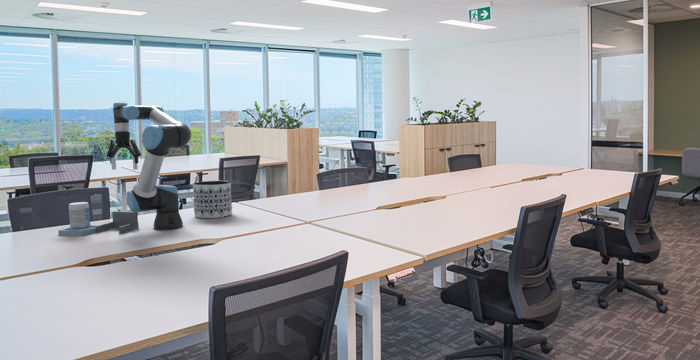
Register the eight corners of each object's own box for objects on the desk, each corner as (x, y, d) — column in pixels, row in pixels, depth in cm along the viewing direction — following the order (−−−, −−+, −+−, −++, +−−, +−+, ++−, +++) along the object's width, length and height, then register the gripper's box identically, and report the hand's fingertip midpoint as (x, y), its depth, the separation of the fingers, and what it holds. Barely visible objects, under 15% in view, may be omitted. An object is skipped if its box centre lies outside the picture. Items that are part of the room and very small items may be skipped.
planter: (227, 218, 315) (225, 184, 313) (189, 219, 315) (187, 185, 313) (235, 212, 337) (234, 180, 335) (200, 212, 337) (199, 180, 335)
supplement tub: (91, 231, 280) (89, 203, 278) (71, 233, 274) (69, 205, 273) (89, 228, 288) (87, 201, 286) (69, 230, 283) (67, 202, 281)
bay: (114, 227, 294) (113, 211, 293) (138, 228, 290) (137, 212, 289) (96, 232, 280) (94, 215, 279) (121, 233, 276) (120, 216, 275)
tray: (103, 230, 287) (103, 225, 286) (83, 236, 272) (82, 231, 272) (80, 229, 290) (79, 224, 290) (58, 234, 276) (58, 230, 276)
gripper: (146, 130, 293) (148, 168, 295) (107, 131, 299) (109, 168, 301) (138, 130, 286) (140, 170, 288) (97, 131, 291) (100, 170, 294)
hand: (124, 169), depth 295 cm, fingers open, 13 cm apart
